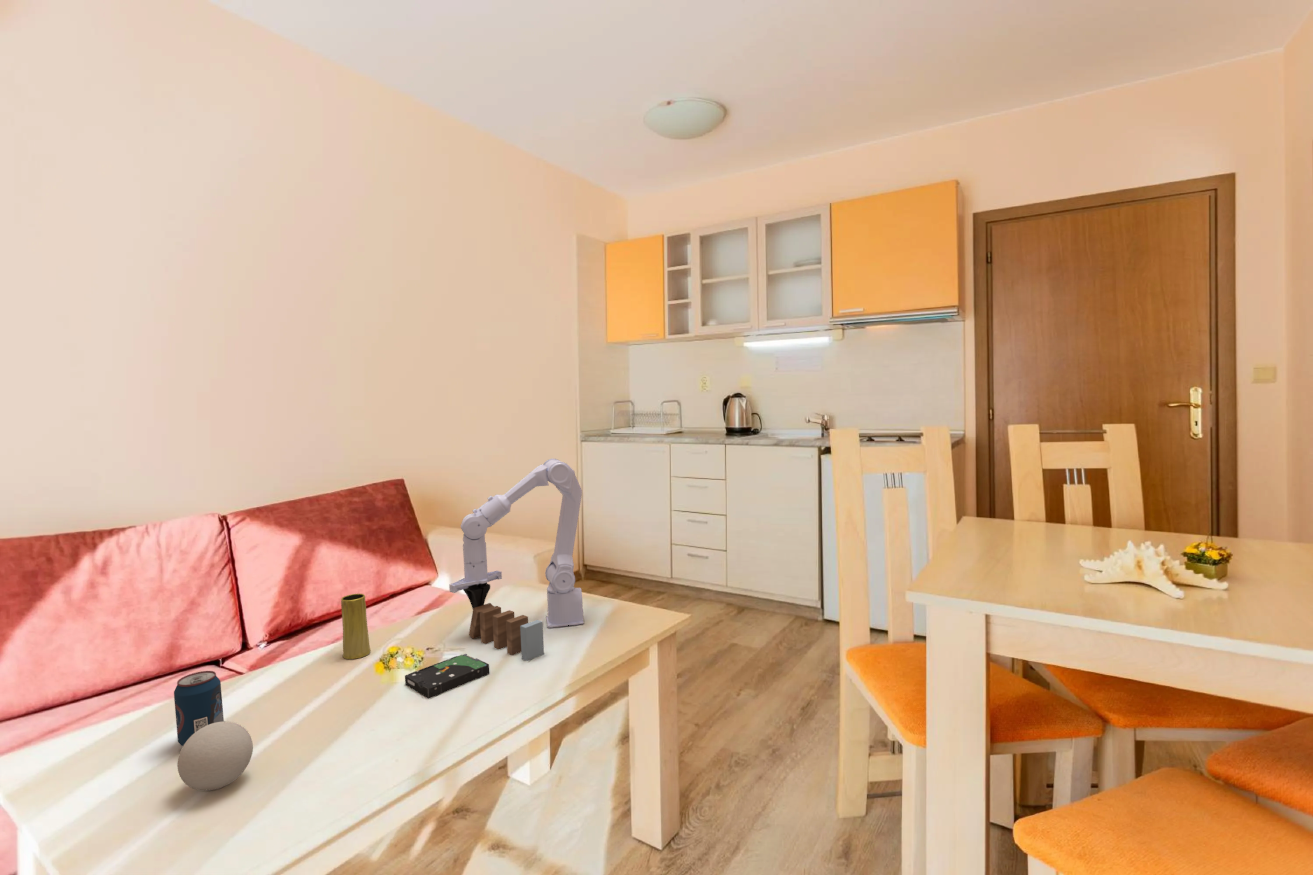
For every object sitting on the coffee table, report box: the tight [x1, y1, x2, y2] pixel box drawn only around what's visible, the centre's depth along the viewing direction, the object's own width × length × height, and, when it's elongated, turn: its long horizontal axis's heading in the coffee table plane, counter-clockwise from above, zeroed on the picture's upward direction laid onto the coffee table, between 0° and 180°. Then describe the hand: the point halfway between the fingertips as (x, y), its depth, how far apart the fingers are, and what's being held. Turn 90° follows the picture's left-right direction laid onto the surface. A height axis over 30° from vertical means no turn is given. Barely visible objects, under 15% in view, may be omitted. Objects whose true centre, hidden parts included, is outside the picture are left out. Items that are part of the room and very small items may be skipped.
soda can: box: [173, 670, 225, 747], centre depth 115 cm, size 7×7×12 cm
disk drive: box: [404, 653, 490, 699], centre depth 138 cm, size 10×3×15 cm
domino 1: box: [480, 605, 502, 645], centre depth 160 cm, size 2×5×8 cm, turn 139°
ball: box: [177, 721, 254, 792], centre depth 102 cm, size 10×10×10 cm
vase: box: [340, 593, 372, 660], centre depth 153 cm, size 6×6×14 cm
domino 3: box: [506, 614, 529, 656], centre depth 152 cm, size 2×5×8 cm, turn 139°
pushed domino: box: [468, 602, 495, 640], centre depth 162 cm, size 2×5×8 cm, turn 140°
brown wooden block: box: [492, 609, 515, 651], centre depth 156 cm, size 2×5×8 cm, turn 139°
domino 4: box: [520, 619, 545, 662], centre depth 149 cm, size 2×5×8 cm, turn 139°
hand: (477, 612), depth 163 cm, fingers closed
